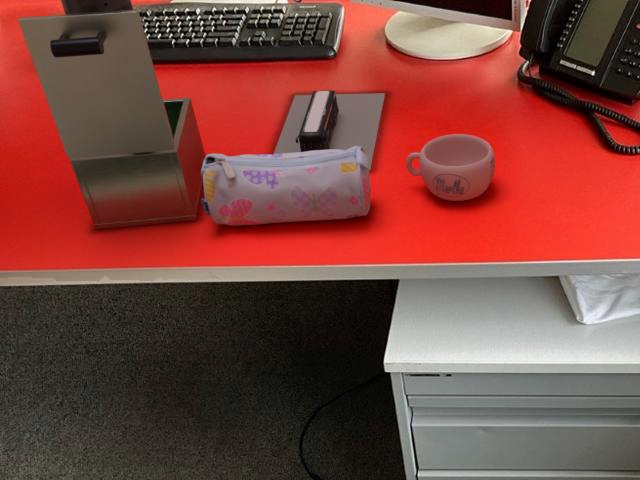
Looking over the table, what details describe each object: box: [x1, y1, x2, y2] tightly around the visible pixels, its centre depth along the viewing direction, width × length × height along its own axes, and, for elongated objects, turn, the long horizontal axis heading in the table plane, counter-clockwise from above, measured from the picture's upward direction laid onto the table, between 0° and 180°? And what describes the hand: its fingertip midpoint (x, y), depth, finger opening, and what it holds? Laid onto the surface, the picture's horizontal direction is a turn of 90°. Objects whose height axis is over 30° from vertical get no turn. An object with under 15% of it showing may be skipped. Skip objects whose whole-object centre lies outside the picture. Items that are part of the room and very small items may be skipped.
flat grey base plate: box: [273, 89, 386, 172], centre depth 133 cm, size 14×25×4 cm, turn 1°
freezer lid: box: [17, 9, 176, 160], centre depth 101 cm, size 16×13×5 cm
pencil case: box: [200, 146, 371, 227], centre depth 113 cm, size 21×9×10 cm, turn 92°
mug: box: [405, 133, 496, 202], centre depth 119 cm, size 12×10×6 cm
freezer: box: [69, 97, 207, 230], centre depth 118 cm, size 16×13×10 cm
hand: (135, 128), depth 116 cm, fingers open, 8 cm apart
